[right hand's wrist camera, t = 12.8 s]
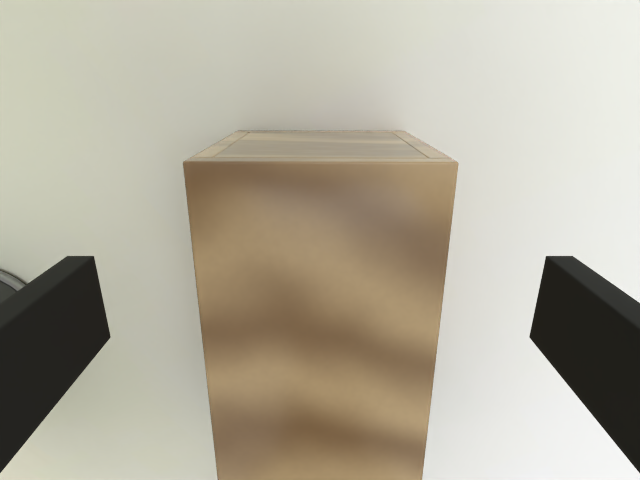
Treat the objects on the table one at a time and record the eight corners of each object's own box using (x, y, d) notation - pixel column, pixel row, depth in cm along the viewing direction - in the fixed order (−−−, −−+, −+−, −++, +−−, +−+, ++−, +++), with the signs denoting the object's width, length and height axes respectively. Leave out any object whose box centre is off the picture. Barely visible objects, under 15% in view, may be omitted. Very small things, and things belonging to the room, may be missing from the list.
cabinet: (388, 356, 33) (421, 487, 22) (251, 355, 33) (218, 486, 22) (404, 130, 27) (459, 162, 16) (237, 130, 27) (181, 161, 16)
